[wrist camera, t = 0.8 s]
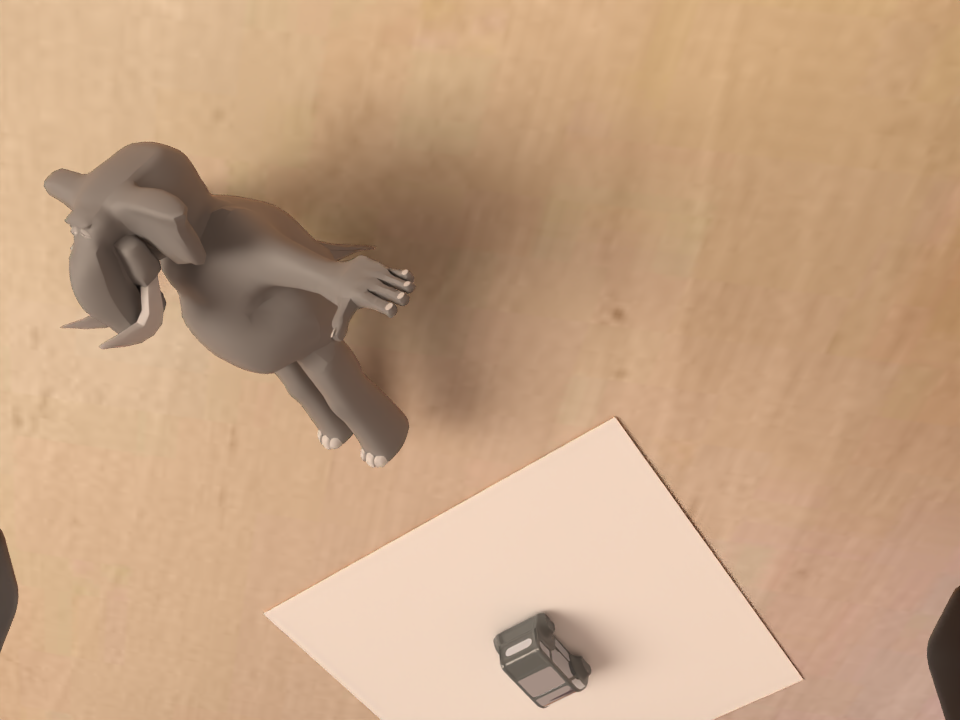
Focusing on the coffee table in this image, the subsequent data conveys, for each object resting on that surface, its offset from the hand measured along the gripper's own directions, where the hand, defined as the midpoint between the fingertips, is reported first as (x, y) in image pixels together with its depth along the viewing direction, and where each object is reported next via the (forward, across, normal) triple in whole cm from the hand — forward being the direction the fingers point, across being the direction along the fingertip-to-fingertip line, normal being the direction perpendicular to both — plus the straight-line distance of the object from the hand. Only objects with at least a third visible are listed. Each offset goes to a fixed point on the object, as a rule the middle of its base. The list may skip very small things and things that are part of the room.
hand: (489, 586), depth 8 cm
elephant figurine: (+12, +4, +2) cm, 13 cm away
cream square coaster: (+12, -3, +14) cm, 19 cm away
